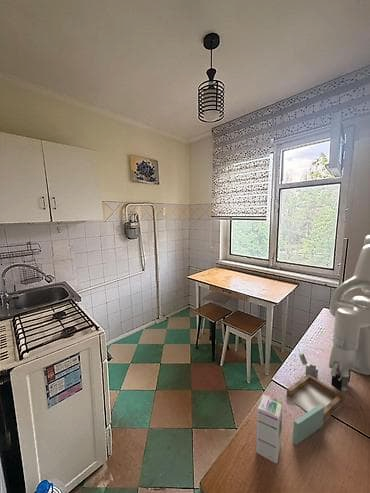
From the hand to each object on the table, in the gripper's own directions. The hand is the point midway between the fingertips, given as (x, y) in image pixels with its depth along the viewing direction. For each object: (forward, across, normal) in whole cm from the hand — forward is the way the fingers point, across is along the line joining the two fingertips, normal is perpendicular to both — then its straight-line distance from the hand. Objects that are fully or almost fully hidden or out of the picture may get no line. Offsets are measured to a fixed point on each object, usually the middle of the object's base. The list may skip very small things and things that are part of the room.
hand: (340, 383), depth 84 cm
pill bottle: (+1, 0, 0) cm, 1 cm away
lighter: (+1, +4, -10) cm, 11 cm away
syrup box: (+1, +43, 0) cm, 43 cm away
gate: (+1, +29, +4) cm, 29 cm away
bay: (+1, +15, -2) cm, 15 cm away
